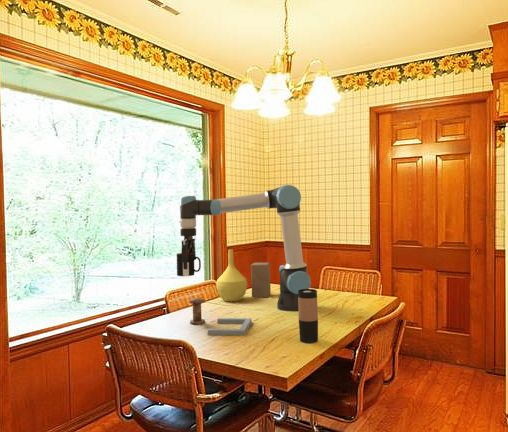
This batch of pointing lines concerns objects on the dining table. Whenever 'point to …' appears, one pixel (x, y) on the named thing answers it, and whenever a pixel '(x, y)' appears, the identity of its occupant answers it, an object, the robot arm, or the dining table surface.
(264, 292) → the wooden block
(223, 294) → the vase
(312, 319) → the travel mug
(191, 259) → the mug
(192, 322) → the bobbin post
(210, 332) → the notch board
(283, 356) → the dining table surface
